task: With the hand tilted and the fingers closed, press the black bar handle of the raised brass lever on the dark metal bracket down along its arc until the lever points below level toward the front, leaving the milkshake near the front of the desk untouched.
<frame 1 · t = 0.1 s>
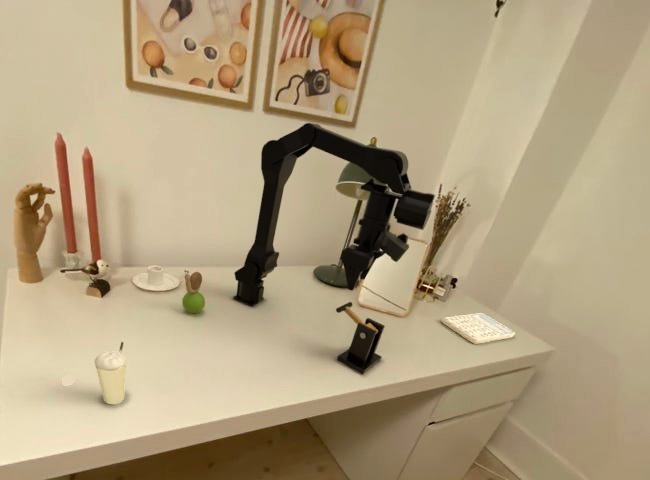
hand: (356, 284, 89), 15 cm above the table, tool pointing down, fingers open, 9 cm apart
lever: (357, 320, 85), point 9 cm above the table, hinge at 20.0°
candle holder: (156, 284, 103), on the table
calculator: (477, 330, 116), on the table
milkshake: (116, 398, 65), on the table
bracket: (359, 360, 89), on the table
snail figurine: (192, 313, 94), on the table
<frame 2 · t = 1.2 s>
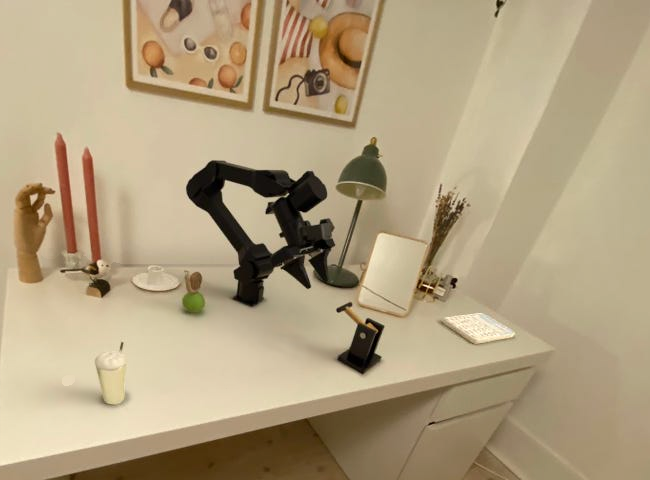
hand: (318, 285, 89), 13 cm above the table, tool tilted 45°, fingers open, 7 cm apart
nothing on the table moved.
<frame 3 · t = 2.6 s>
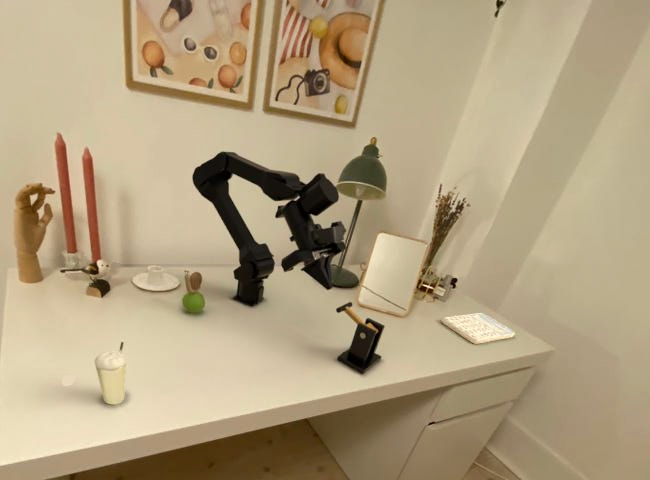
hand: (330, 289, 87), 13 cm above the table, tool tilted 45°, fingers closed
nothing on the table moved.
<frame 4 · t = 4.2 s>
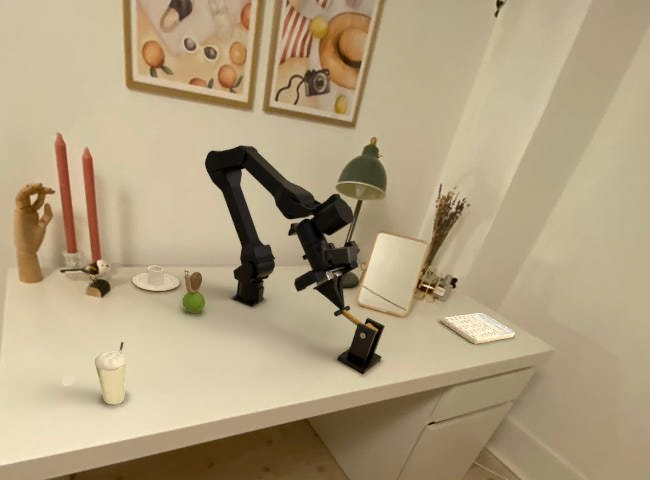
hand: (342, 308, 87), 10 cm above the table, tool tilted 45°, fingers closed, pressing on lever
lever: (356, 322, 86), point 9 cm above the table, hinge at 11.8°, touching gripper
everything else where it was.
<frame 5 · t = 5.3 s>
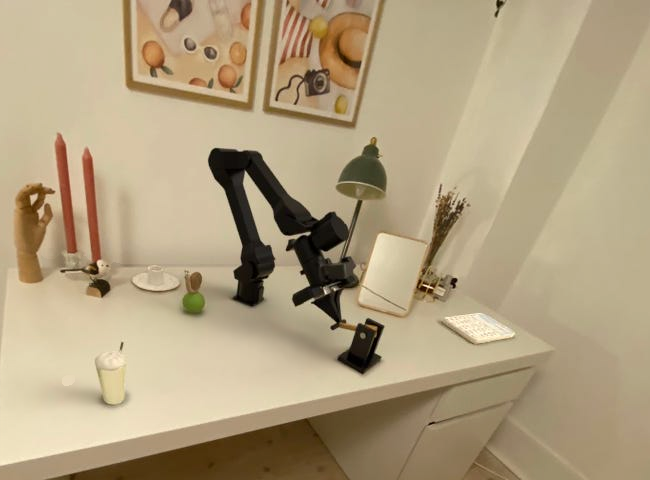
hand: (339, 321, 89), 7 cm above the table, tool tilted 45°, fingers closed, pressing on lever
lever: (354, 328, 87), point 7 cm above the table, hinge at -14.5°, touching gripper
everything else where it was.
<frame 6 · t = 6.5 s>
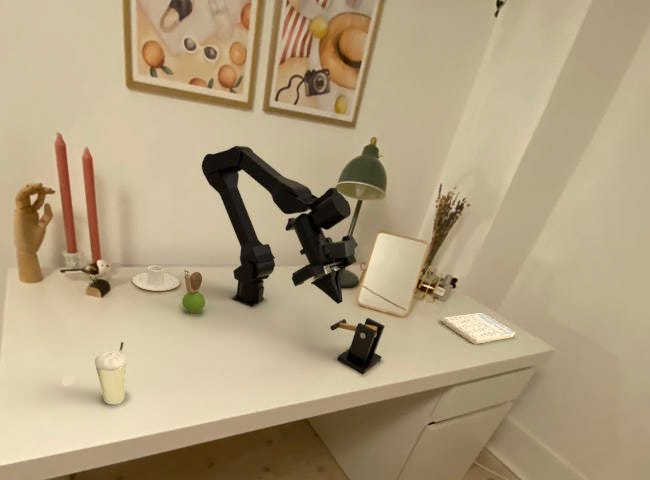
hand: (340, 302, 87), 11 cm above the table, tool tilted 45°, fingers closed
lever: (354, 328, 87), point 7 cm above the table, hinge at -14.7°
everything else where it was.
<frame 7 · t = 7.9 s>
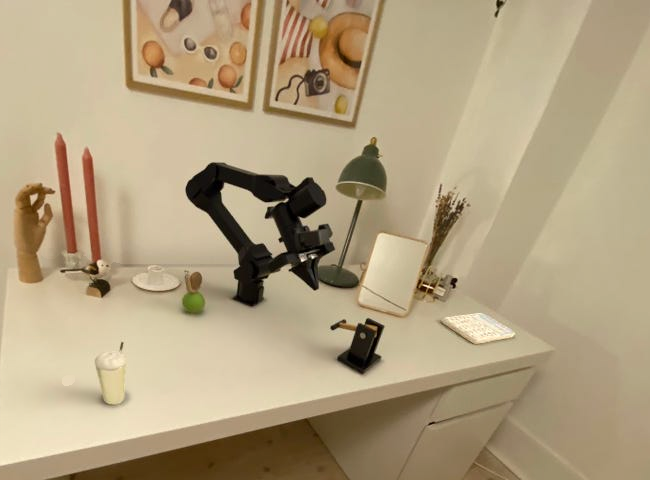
hand: (316, 289, 90), 12 cm above the table, tool tilted 45°, fingers closed
nothing on the table moved.
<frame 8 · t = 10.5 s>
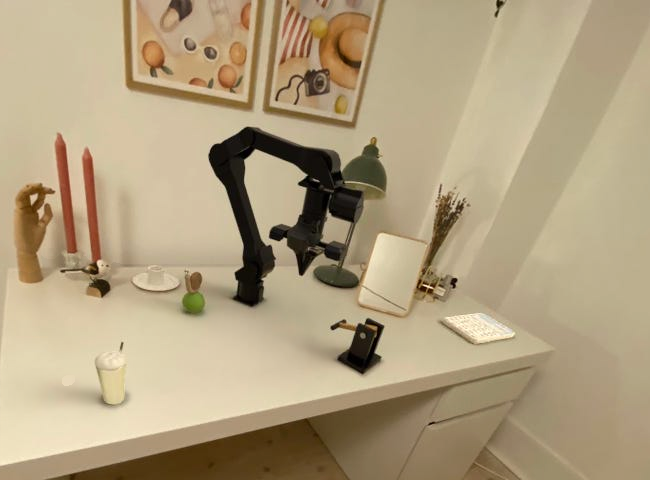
hand: (301, 275, 94), 12 cm above the table, tool pointing down, fingers closed
nothing on the table moved.
at the end: lever at -15° (first picture: +20°); milkshake moved 0.2 cm from its start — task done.
